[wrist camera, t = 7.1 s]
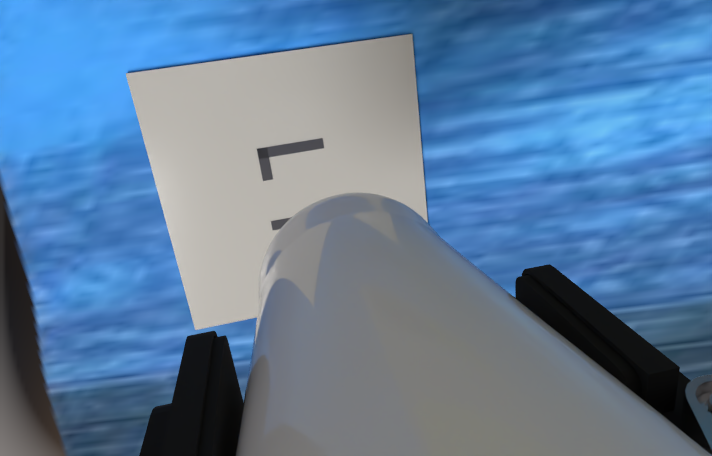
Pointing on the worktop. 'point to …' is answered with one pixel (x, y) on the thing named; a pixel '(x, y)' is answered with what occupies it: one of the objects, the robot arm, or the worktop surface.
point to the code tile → (273, 153)
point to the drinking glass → (419, 353)
